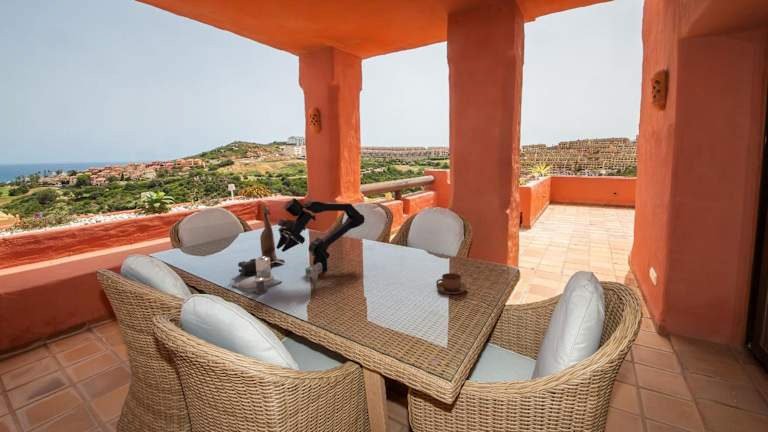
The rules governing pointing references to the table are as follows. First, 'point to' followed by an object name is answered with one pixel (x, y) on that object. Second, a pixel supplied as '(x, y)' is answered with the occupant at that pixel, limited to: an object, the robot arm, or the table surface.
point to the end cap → (247, 267)
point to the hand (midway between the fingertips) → (279, 249)
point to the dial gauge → (260, 286)
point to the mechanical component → (314, 273)
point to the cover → (264, 268)
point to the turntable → (253, 284)
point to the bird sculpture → (268, 238)
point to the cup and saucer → (451, 284)
